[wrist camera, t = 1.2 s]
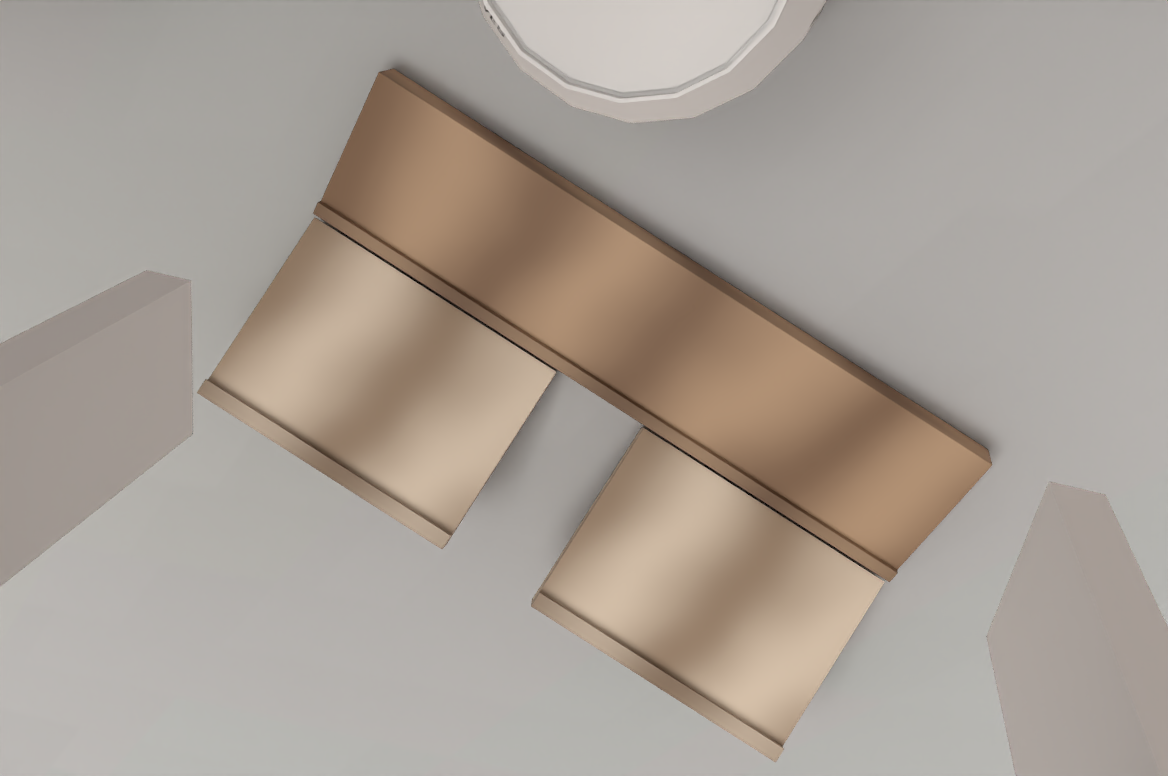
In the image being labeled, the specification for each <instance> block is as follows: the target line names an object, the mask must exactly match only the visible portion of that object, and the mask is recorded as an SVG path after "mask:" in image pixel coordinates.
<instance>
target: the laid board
mask: <svg viewBox="0 0 1168 776" xmlns="http://www.w3.org/2000/svg"><path fill="white" fill-rule="evenodd" d="M313 214H315V215H316V216H318V217H319V218H321V219H323V220H324V221H326V222H327V223H329V224H330V225H332V226H334V227H335V228H337V229H338V230H340V231H341V232H343V233H344V234H346V235H348V236H349V237H351V238H352V239H354V240H355V241H357V242H359V243H360V244H362V245H363V246H365V247H366V248H368V249H370V250H371V251H373V252H374V253H376V254H377V255H379V256H380V257H382V258H384V259H385V260H387V261H388V262H390V263H391V264H393V265H395V266H396V267H398V268H399V269H401V270H402V271H404V272H405V273H407V274H409V275H410V276H412V277H413V278H415V279H416V280H418V281H420V282H421V283H423V284H424V285H426V286H427V287H429V288H430V289H432V290H434V291H435V292H437V293H438V294H440V295H441V296H443V297H445V298H446V299H448V300H449V301H451V302H452V303H454V304H455V305H457V306H459V307H460V308H462V309H463V310H465V311H466V312H468V313H470V314H471V315H473V316H474V317H476V318H477V319H479V320H480V321H482V322H484V323H485V324H487V325H488V326H490V327H491V328H493V329H495V330H496V331H498V332H499V333H501V334H502V335H504V336H505V337H507V338H509V339H510V340H512V341H513V342H515V343H516V344H518V345H520V346H521V347H523V348H524V349H526V350H527V351H529V352H530V353H532V354H534V355H535V356H537V357H538V358H540V359H541V360H543V361H545V362H546V363H548V364H549V365H551V366H552V367H554V368H555V369H557V370H559V371H560V372H562V373H563V374H565V375H566V376H568V377H570V378H571V379H573V380H574V381H576V382H577V383H579V384H580V385H582V386H584V387H585V388H587V389H588V390H590V391H591V392H593V393H595V394H596V395H598V396H599V397H601V398H602V399H604V400H605V401H607V402H609V403H610V404H612V405H613V406H615V407H616V408H618V409H620V410H621V411H623V412H624V413H626V414H627V415H629V416H630V417H632V418H634V419H635V420H637V421H638V422H640V423H641V424H643V425H645V426H646V427H648V428H649V429H651V430H652V431H654V432H655V433H657V434H659V435H660V436H662V437H663V438H665V439H666V440H668V441H670V442H671V443H673V444H674V445H676V446H677V447H679V448H681V449H682V450H684V451H685V452H687V453H688V454H690V455H691V456H693V457H695V458H696V459H698V460H699V461H701V462H702V463H704V464H706V465H707V466H709V467H710V468H712V469H713V470H715V471H716V472H718V473H720V474H721V475H723V476H724V477H726V478H727V479H729V480H731V481H732V482H734V483H735V484H737V485H738V486H740V487H741V488H743V489H745V490H746V491H748V492H749V493H751V494H752V495H754V496H756V497H757V498H759V499H760V500H762V501H763V502H765V503H766V504H768V505H770V506H771V507H773V508H774V509H776V510H777V511H779V512H781V513H782V514H784V515H785V516H787V517H788V518H790V519H791V520H793V521H795V522H796V523H798V524H799V525H801V526H802V527H804V528H806V529H807V530H809V531H810V532H812V533H813V534H815V535H816V536H818V537H820V538H821V539H823V540H824V541H826V542H827V543H829V544H831V545H832V546H834V547H835V548H837V549H838V550H840V551H841V552H843V553H845V554H846V555H848V556H849V557H851V558H852V559H854V560H856V561H857V562H859V563H860V564H862V565H863V566H865V567H866V568H868V569H870V570H871V571H873V572H874V573H876V574H877V575H879V576H881V577H882V578H884V579H885V580H887V581H888V582H890V581H891V580H892V579H893V578H894V577H895V575H896V574H897V570H898V568H899V567H900V566H901V565H902V564H903V563H904V562H905V561H906V560H907V558H908V557H909V556H910V555H911V554H912V553H913V552H914V551H915V550H916V549H917V547H918V546H919V545H920V544H921V543H922V542H923V541H924V540H925V539H926V538H927V536H928V535H929V534H930V533H931V532H932V531H933V530H934V529H935V528H936V527H937V525H938V524H939V523H940V522H941V521H942V520H943V519H944V518H945V517H946V516H947V514H948V513H949V512H950V511H951V510H952V509H953V508H954V507H955V506H956V504H957V503H958V502H959V501H960V500H961V499H962V498H963V497H964V496H965V495H966V493H967V492H968V491H969V490H970V489H971V488H972V487H973V486H974V485H975V484H976V482H977V481H978V480H979V479H980V478H981V477H982V476H983V475H984V474H985V473H986V471H987V470H988V469H989V468H990V467H991V466H992V462H991V458H990V455H989V451H988V449H986V448H985V447H983V446H982V445H980V444H979V443H977V442H975V441H974V440H972V439H971V438H969V437H968V436H966V435H964V434H963V433H961V432H960V431H958V430H957V429H955V428H954V427H952V426H950V425H949V424H947V423H946V422H944V421H943V420H941V419H939V418H938V417H936V416H935V415H933V414H932V413H930V412H929V411H927V410H925V409H924V408H922V407H921V406H919V405H918V404H916V403H915V402H913V401H911V400H910V399H908V398H907V397H905V396H904V395H902V394H900V393H899V392H897V391H896V390H894V389H893V388H891V387H890V386H888V385H886V384H885V383H883V382H882V381H880V380H879V379H877V378H875V377H874V376H872V375H871V374H869V373H868V372H866V371H865V370H863V369H861V368H860V367H858V366H857V365H855V364H854V363H852V362H851V361H849V360H847V359H846V358H844V357H843V356H841V355H840V354H838V353H836V352H835V351H833V350H832V349H830V348H829V347H827V346H826V345H824V344H822V343H821V342H819V341H818V340H816V339H815V338H813V337H811V336H810V335H808V334H807V333H805V332H804V331H802V330H801V329H799V328H797V327H796V326H794V325H793V324H791V323H790V322H788V321H787V320H785V319H783V318H782V317H780V316H779V315H777V314H776V313H774V312H772V311H771V310H769V309H768V308H766V307H765V306H763V305H762V304H760V303H758V302H757V301H755V300H754V299H752V298H751V297H749V296H747V295H746V294H744V293H743V292H741V291H740V290H738V289H737V288H735V287H733V286H732V285H730V284H729V283H727V282H726V281H724V280H723V279H721V278H719V277H718V276H716V275H715V274H713V273H712V272H710V271H708V270H707V269H705V268H704V267H702V266H701V265H699V264H698V263H696V262H694V261H693V260H691V259H690V258H688V257H687V256H685V255H683V254H682V253H680V252H679V251H677V250H676V249H674V248H673V247H671V246H669V245H668V244H666V243H665V242H663V241H662V240H660V239H659V238H657V237H655V236H654V235H652V234H651V233H649V232H648V231H646V230H644V229H643V228H641V227H640V226H638V225H637V224H635V223H634V222H632V221H630V220H629V219H627V218H626V217H624V216H623V215H621V214H619V213H618V212H616V211H615V210H613V209H612V208H610V207H609V206H607V205H605V204H604V203H602V202H601V201H599V200H598V199H596V198H595V197H593V196H591V195H590V194H588V193H587V192H585V191H584V190H582V189H580V188H579V187H577V186H576V185H574V184H573V183H571V182H570V181H568V180H566V179H565V178H563V177H562V176H560V175H559V174H557V173H555V172H554V171H552V170H551V169H549V168H548V167H546V166H545V165H543V164H541V163H540V162H538V161H537V160H535V159H534V158H532V157H531V156H529V155H527V154H526V153H524V152H523V151H521V150H520V149H518V148H516V147H515V146H513V145H512V144H510V143H509V142H507V141H506V140H504V139H502V138H501V137H499V136H498V135H496V134H495V133H493V132H491V131H490V130H488V129H487V128H485V127H484V126H482V125H481V124H479V123H477V122H476V121H474V120H473V119H471V118H470V117H468V116H467V115H465V114H463V113H462V112H460V111H459V110H457V109H456V108H454V107H452V106H451V105H449V104H448V103H446V102H445V101H443V100H442V99H440V98H438V97H437V96H435V95H434V94H432V93H431V92H429V91H427V90H426V89H424V88H423V87H421V86H420V85H418V84H417V83H415V82H413V81H412V80H410V79H409V78H407V77H406V76H404V75H403V74H401V73H399V72H398V71H396V70H395V69H390V70H386V71H382V72H379V73H378V75H377V78H376V80H375V82H374V84H373V86H372V89H371V91H370V93H369V95H368V98H367V100H366V102H365V104H364V106H363V109H362V111H361V113H360V115H359V118H358V120H357V122H356V124H355V126H354V129H353V131H352V133H351V135H350V138H349V140H348V142H347V144H346V146H345V149H344V151H343V153H342V155H341V158H340V160H339V162H338V164H337V166H336V169H335V171H334V173H333V175H332V178H331V180H330V182H329V184H328V187H327V189H326V191H325V193H324V195H323V198H322V200H321V201H320V202H318V203H317V206H316V208H315V210H314V212H313Z"/></svg>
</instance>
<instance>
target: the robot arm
mask: <svg viewBox="0 0 1168 776" xmlns="http://www.w3.org/2000/svg"><path fill="white" fill-rule="evenodd" d="M192 434H193V391H192V316H191V280H186V279H182V278H178V277H173V276H169V275H165V274H161V273H156V272H152V271H148V270H146V271H144V272H142V273H140V274H138V275H136V276H134V277H132V278H130V279H128V280H126V281H124V282H122V283H120V284H118V285H116V286H114V287H112V288H110V289H108V290H106V291H104V292H102V293H100V294H98V295H96V296H94V297H92V298H90V299H88V300H86V301H84V302H82V303H80V304H78V305H76V306H74V307H72V308H70V309H68V310H66V311H64V312H62V313H60V314H58V315H56V316H54V317H52V318H50V319H48V320H46V321H44V322H42V323H40V324H38V325H36V326H35V327H33V328H31V329H29V330H27V331H25V332H23V333H21V334H19V335H17V336H15V337H13V338H11V339H9V340H7V341H5V342H3V343H1V344H0V586H2V585H3V584H4V583H5V582H7V581H8V580H9V579H10V578H12V577H13V576H14V575H16V574H17V573H18V572H19V571H21V570H22V569H23V568H24V567H26V566H27V565H28V564H29V563H31V562H32V561H33V560H34V559H36V558H37V557H38V556H40V555H41V554H42V553H43V552H45V551H46V550H47V549H48V548H50V547H51V546H52V545H53V544H55V543H56V542H57V541H58V540H60V539H61V538H62V537H63V536H65V535H66V534H67V533H69V532H70V531H71V530H72V529H74V528H75V527H76V526H77V525H79V524H80V523H81V522H82V521H84V520H85V519H86V518H87V517H89V516H90V515H91V514H92V513H94V512H95V511H96V510H98V509H99V508H100V507H101V506H103V505H104V504H105V503H106V502H108V501H109V500H110V499H111V498H113V497H114V496H115V495H116V494H118V493H119V492H120V491H122V490H123V489H124V488H125V487H127V486H128V485H129V484H130V483H132V482H133V481H134V480H135V479H137V478H138V477H139V476H140V475H142V474H143V473H144V472H145V471H147V470H148V469H149V468H151V467H152V466H153V465H154V464H156V463H157V462H158V461H159V460H161V459H162V458H163V457H164V456H166V455H167V454H168V453H169V452H171V451H172V450H173V449H174V448H176V447H177V446H178V445H180V444H181V443H182V442H183V441H185V440H186V439H187V438H188V437H190V436H191V435H192ZM986 637H987V641H988V646H989V651H990V656H991V661H992V665H993V670H994V675H995V680H996V684H997V689H998V694H999V699H1000V703H1001V708H1002V713H1003V718H1004V722H1005V727H1006V732H1007V737H1008V741H1009V746H1010V751H1011V756H1012V761H1013V765H1014V770H1015V775H1016V776H1168V627H1167V625H1166V623H1165V620H1164V618H1163V616H1162V614H1161V612H1160V610H1159V608H1158V606H1157V603H1156V601H1155V599H1154V597H1153V595H1152V593H1151V591H1150V588H1149V586H1148V584H1147V582H1146V580H1145V578H1144V576H1143V574H1142V571H1141V569H1140V567H1139V565H1138V563H1137V561H1136V559H1135V557H1134V554H1133V552H1132V550H1131V548H1130V546H1129V544H1128V542H1127V540H1126V537H1125V535H1124V533H1123V531H1122V529H1121V527H1120V525H1119V523H1118V520H1117V518H1116V516H1115V514H1114V512H1113V510H1112V508H1111V506H1110V503H1109V501H1108V499H1107V497H1106V495H1105V494H1101V493H1096V492H1092V491H1088V490H1084V489H1079V488H1075V487H1071V486H1066V485H1062V484H1058V483H1054V482H1048V485H1047V487H1046V490H1045V492H1044V495H1043V497H1042V500H1041V502H1040V505H1039V507H1038V510H1037V512H1036V515H1035V517H1034V520H1033V522H1032V525H1031V527H1030V530H1029V532H1028V534H1027V537H1026V539H1025V542H1024V544H1023V547H1022V549H1021V552H1020V554H1019V557H1018V559H1017V562H1016V564H1015V567H1014V569H1013V572H1012V574H1011V577H1010V579H1009V582H1008V584H1007V586H1006V589H1005V591H1004V594H1003V596H1002V599H1001V601H1000V604H999V606H998V609H997V611H996V614H995V616H994V619H993V621H992V624H991V626H990V629H989V631H988V634H987V636H986Z"/></svg>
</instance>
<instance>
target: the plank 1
mask: <svg viewBox="0 0 1168 776" xmlns="http://www.w3.org/2000/svg"><path fill="white" fill-rule="evenodd" d="M555 374H556V371H554V370H552V369H551V368H549V367H548V366H546V365H545V364H543V363H542V362H540V361H538V360H537V359H535V358H534V357H532V356H531V355H529V354H527V353H526V352H524V351H523V350H521V349H520V348H518V347H517V346H515V345H513V344H512V343H510V342H509V341H507V340H506V339H504V338H502V337H501V336H499V335H498V334H496V333H495V332H493V331H492V330H490V329H488V328H487V327H485V326H484V325H482V324H481V323H479V322H477V321H476V320H474V319H473V318H471V317H470V316H468V315H466V314H465V313H463V312H462V311H460V310H459V309H457V308H456V307H454V306H452V305H451V304H449V303H448V302H446V301H445V300H443V299H441V298H440V297H438V296H437V295H435V294H434V293H432V292H431V291H429V290H427V289H426V288H424V287H423V286H421V285H420V284H418V283H416V282H415V281H413V280H412V279H410V278H409V277H407V276H406V275H404V274H402V273H401V272H399V271H398V270H396V269H395V268H393V267H391V266H390V265H388V264H387V263H385V262H384V261H382V260H381V259H379V258H377V257H376V256H374V255H373V254H371V253H370V252H368V251H366V250H365V249H363V248H362V247H360V246H359V245H357V244H356V243H354V242H352V241H351V240H349V239H348V238H346V237H345V236H343V235H341V234H340V233H338V232H337V231H335V230H334V229H332V228H331V227H329V226H327V225H326V224H324V223H323V222H321V221H320V220H318V219H316V218H314V219H313V221H312V222H311V224H310V225H309V227H308V228H307V230H306V231H305V233H304V234H303V236H302V237H301V239H300V240H299V242H298V244H297V245H296V247H295V248H294V250H293V251H292V253H291V254H290V256H289V257H288V259H287V260H286V262H285V263H284V265H283V266H282V268H281V269H280V271H279V273H278V274H277V276H276V277H275V279H274V280H273V282H272V283H271V285H270V286H269V288H268V289H267V291H266V292H265V294H264V295H263V297H262V298H261V300H260V302H259V303H258V305H257V306H256V308H255V309H254V311H253V312H252V314H251V315H250V317H249V318H248V320H247V321H246V323H245V324H244V326H243V327H242V329H241V331H240V332H239V334H238V335H237V337H236V338H235V340H234V341H233V343H232V344H231V346H230V347H229V349H228V350H227V352H226V353H225V355H224V356H223V358H222V359H221V361H220V363H219V364H218V366H217V367H216V369H215V370H214V372H213V373H212V375H211V376H210V378H209V379H208V380H207V379H206V380H205V381H204V383H203V384H202V386H201V387H200V389H199V390H198V392H197V393H198V394H200V395H201V396H203V397H204V398H206V399H208V400H209V401H211V402H212V403H214V404H215V405H217V406H219V407H220V408H222V409H223V410H225V411H226V412H228V413H229V414H231V415H233V416H234V417H236V418H237V419H239V420H240V421H242V422H244V423H245V424H247V425H248V426H250V427H251V428H253V429H255V430H256V431H258V432H259V433H261V434H262V435H264V436H265V437H267V438H269V439H270V440H272V441H273V442H275V443H276V444H278V445H280V446H281V447H283V448H284V449H286V450H287V451H289V452H291V453H292V454H294V455H295V456H297V457H298V458H300V459H301V460H303V461H305V462H306V463H308V464H309V465H311V466H312V467H314V468H316V469H317V470H319V471H320V472H322V473H323V474H325V475H327V476H328V477H330V478H331V479H333V480H334V481H336V482H337V483H339V484H341V485H342V486H344V487H345V488H347V489H348V490H350V491H352V492H353V493H355V494H356V495H358V496H359V497H361V498H363V499H364V500H366V501H367V502H369V503H370V504H372V505H373V506H375V507H377V508H378V509H380V510H381V511H383V512H384V513H386V514H388V515H389V516H391V517H392V518H394V519H395V520H397V521H399V522H400V523H402V524H403V525H405V526H406V527H408V528H409V529H411V530H413V531H414V532H416V533H417V534H419V535H420V536H422V537H424V538H425V539H427V540H428V541H430V542H431V543H433V544H435V545H436V546H438V547H439V548H441V549H443V548H444V547H445V545H446V544H447V543H448V541H449V540H450V538H451V537H452V535H453V533H454V532H455V530H456V529H457V527H458V526H459V524H460V523H461V521H462V519H463V518H464V516H465V515H466V513H467V512H468V510H469V508H470V507H471V505H472V504H473V502H474V501H475V499H476V498H477V496H478V494H479V493H480V491H481V490H482V488H483V487H484V485H485V484H486V482H487V480H488V479H489V477H490V476H491V474H492V473H493V471H494V469H495V468H496V466H497V465H498V463H499V462H500V460H501V459H502V457H503V455H504V454H505V452H506V451H507V449H508V448H509V446H510V445H511V443H512V441H513V440H514V438H515V437H516V435H517V434H518V432H519V430H520V429H521V427H522V426H523V424H524V423H525V421H526V420H527V418H528V416H529V415H530V413H531V412H532V410H533V409H534V407H535V406H536V404H537V402H538V401H539V399H540V398H541V396H542V395H543V393H544V392H545V390H546V388H547V387H548V385H549V384H550V382H551V381H552V379H553V377H554V376H555Z"/></svg>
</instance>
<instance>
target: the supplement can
mask: <svg viewBox="0 0 1168 776" xmlns="http://www.w3.org/2000/svg"><path fill="white" fill-rule="evenodd" d="M478 1H479V5H480V8H481V11H482V14H483V17H484V18H485V19H486V21H487V22H488V24H489V25H490V27H491V28H492V29H493V31H494V32H495V34H496V35H497V37H498V38H499V39H500V41H501V42H502V44H503V45H504V47H505V48H506V49H507V51H508V52H509V54H510V55H511V57H512V58H513V59H514V61H515V62H516V64H517V65H518V67H519V68H520V69H521V70H522V71H523V72H525V73H526V74H527V75H529V76H530V77H532V78H533V79H534V80H536V81H537V82H538V83H540V84H541V85H543V86H544V87H545V88H547V89H548V90H550V91H551V92H552V93H554V94H555V95H556V96H558V97H559V98H561V99H562V100H563V101H565V102H566V103H568V104H569V105H570V106H572V107H575V108H579V109H582V110H586V111H590V112H593V113H597V114H600V115H604V116H607V117H611V118H614V119H618V120H622V121H625V122H629V123H639V122H651V121H662V120H673V119H685V118H694V117H697V116H699V115H701V114H703V113H705V112H707V111H709V110H711V109H713V108H715V107H718V106H720V105H722V104H724V103H726V102H728V101H730V100H732V99H734V98H736V97H739V96H741V95H743V94H745V93H747V92H749V91H751V90H753V89H754V88H755V87H756V86H757V85H758V84H759V83H760V82H761V81H762V80H763V79H764V78H765V77H766V76H767V75H768V74H769V73H770V72H771V71H772V70H773V69H774V68H775V67H776V66H777V65H778V64H779V63H780V62H781V61H782V60H783V59H784V58H785V57H786V56H787V55H788V54H789V53H790V52H791V51H792V50H793V49H794V48H795V47H796V46H797V45H798V44H799V43H800V42H801V41H802V40H803V39H804V38H805V36H806V35H807V33H808V32H809V30H810V28H811V27H812V25H813V24H814V22H815V21H816V19H817V18H818V16H819V14H820V13H821V11H822V9H823V7H824V5H825V3H826V1H827V0H478Z"/></svg>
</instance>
